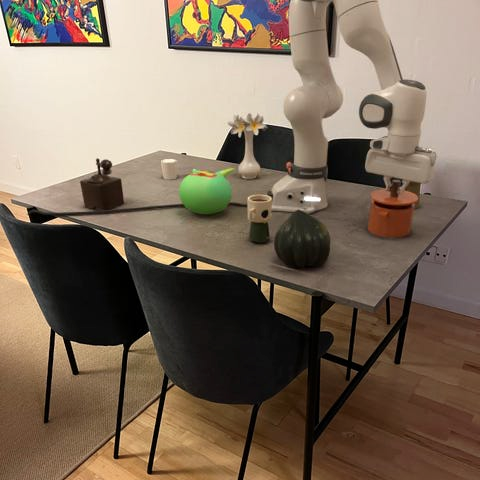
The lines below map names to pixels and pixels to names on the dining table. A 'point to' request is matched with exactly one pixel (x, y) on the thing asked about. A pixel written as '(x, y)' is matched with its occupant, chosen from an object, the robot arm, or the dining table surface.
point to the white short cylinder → (169, 168)
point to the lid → (394, 196)
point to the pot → (390, 219)
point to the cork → (414, 190)
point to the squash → (302, 241)
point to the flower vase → (248, 142)
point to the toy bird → (206, 191)
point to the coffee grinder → (102, 189)
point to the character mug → (259, 217)
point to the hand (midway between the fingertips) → (394, 192)
